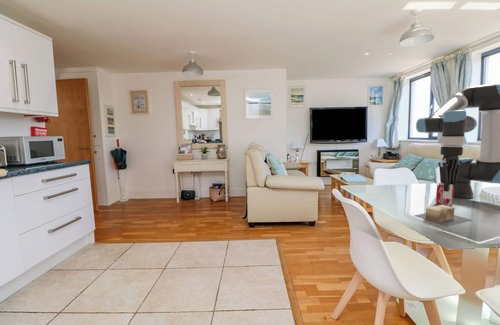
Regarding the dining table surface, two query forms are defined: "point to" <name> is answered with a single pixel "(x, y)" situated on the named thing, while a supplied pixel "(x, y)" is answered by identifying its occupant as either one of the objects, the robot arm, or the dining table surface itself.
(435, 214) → the oak block
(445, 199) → the soda can
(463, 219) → the mat
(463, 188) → the robot arm
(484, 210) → the dining table surface
